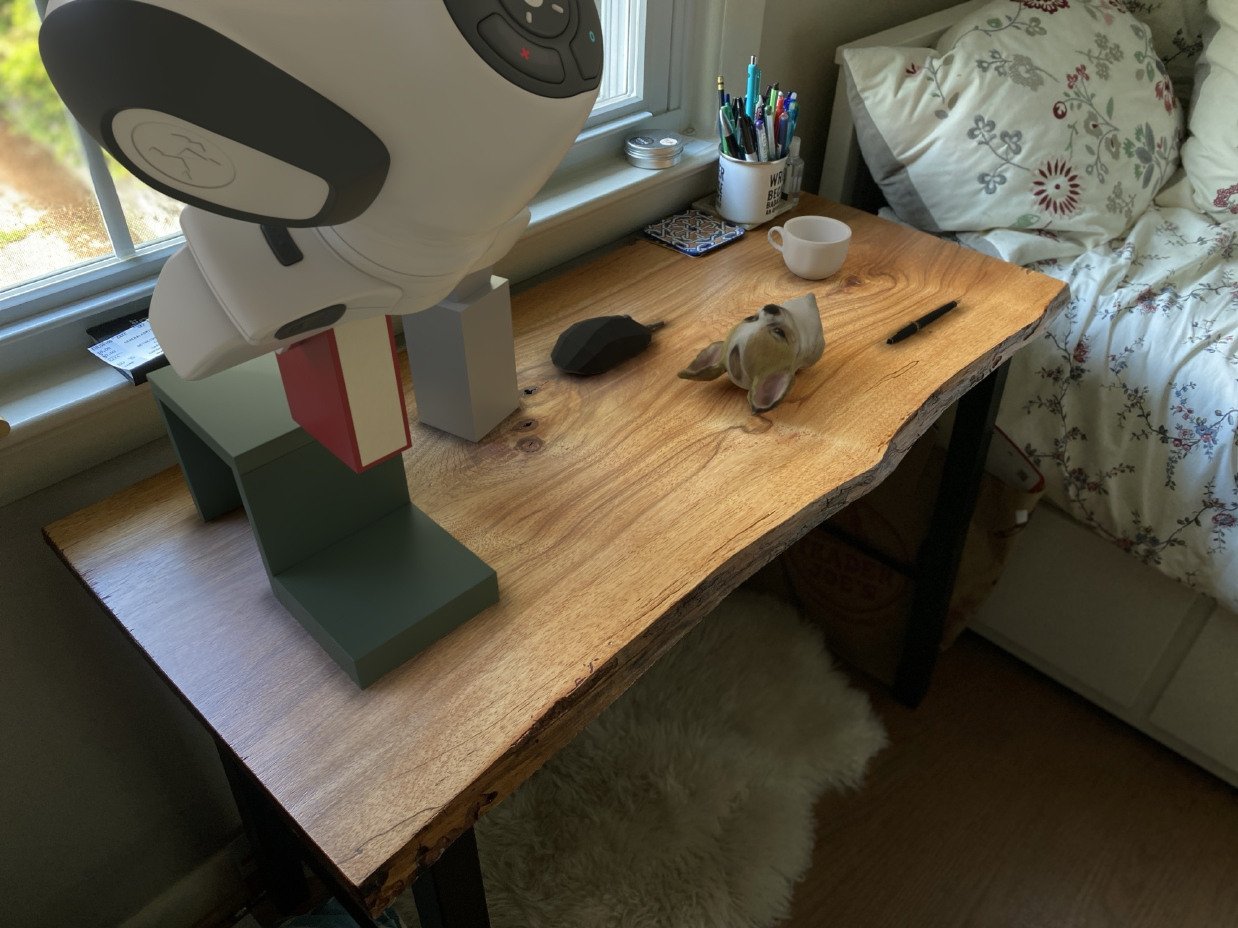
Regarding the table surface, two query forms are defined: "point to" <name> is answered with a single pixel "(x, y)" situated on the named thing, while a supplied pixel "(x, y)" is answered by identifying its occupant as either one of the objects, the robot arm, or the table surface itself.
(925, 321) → the fountain pen
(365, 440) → the book
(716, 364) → the ceramic sculpture
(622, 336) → the gaming mouse
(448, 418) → the perfume bottle
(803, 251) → the teacup
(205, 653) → the table surface
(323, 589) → the shelf
